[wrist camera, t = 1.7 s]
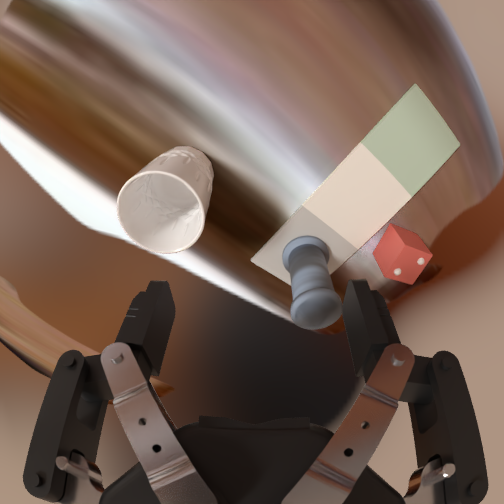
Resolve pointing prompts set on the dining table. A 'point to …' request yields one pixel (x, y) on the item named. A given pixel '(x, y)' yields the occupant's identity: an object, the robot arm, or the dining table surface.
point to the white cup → (167, 201)
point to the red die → (401, 254)
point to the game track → (368, 184)
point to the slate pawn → (311, 283)
